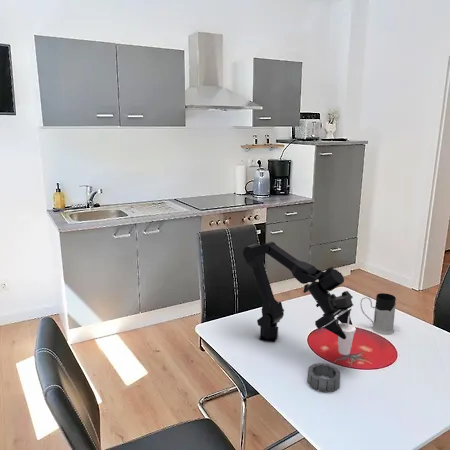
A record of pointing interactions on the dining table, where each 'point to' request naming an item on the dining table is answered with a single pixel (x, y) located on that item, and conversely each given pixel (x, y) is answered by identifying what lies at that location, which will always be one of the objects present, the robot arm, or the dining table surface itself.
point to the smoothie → (346, 343)
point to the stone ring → (323, 383)
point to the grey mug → (383, 313)
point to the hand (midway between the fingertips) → (349, 335)
